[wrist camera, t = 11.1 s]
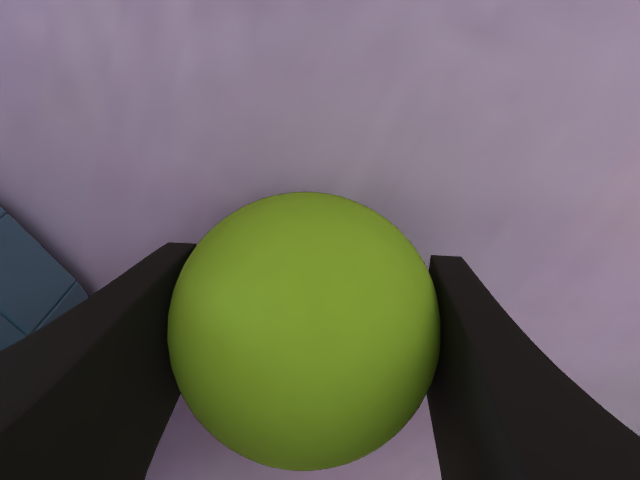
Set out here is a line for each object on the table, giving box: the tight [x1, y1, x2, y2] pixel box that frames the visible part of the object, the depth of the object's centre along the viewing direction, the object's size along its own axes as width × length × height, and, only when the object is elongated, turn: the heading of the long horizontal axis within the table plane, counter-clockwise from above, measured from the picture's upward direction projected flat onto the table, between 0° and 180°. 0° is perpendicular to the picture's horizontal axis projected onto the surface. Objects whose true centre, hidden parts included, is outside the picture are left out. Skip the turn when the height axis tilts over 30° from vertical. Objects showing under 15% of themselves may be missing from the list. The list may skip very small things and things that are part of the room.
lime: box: [167, 192, 440, 471], centre depth 9 cm, size 5×5×5 cm
